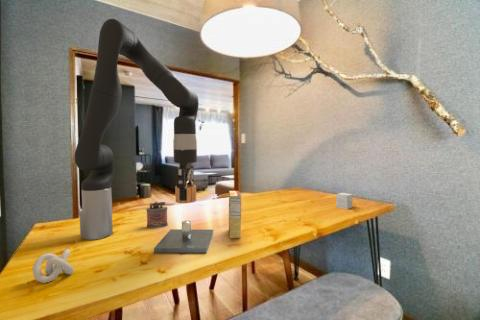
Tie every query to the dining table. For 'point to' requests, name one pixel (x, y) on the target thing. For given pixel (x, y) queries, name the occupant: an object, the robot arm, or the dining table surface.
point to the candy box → (234, 214)
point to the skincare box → (344, 200)
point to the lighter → (156, 215)
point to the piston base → (185, 240)
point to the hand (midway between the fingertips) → (186, 197)
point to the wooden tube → (190, 194)
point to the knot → (49, 268)
